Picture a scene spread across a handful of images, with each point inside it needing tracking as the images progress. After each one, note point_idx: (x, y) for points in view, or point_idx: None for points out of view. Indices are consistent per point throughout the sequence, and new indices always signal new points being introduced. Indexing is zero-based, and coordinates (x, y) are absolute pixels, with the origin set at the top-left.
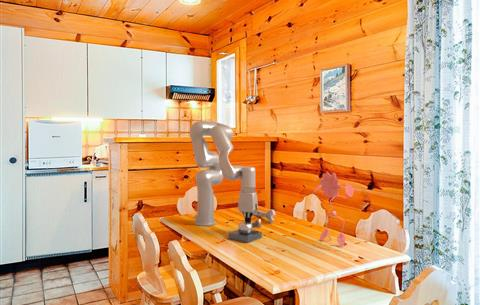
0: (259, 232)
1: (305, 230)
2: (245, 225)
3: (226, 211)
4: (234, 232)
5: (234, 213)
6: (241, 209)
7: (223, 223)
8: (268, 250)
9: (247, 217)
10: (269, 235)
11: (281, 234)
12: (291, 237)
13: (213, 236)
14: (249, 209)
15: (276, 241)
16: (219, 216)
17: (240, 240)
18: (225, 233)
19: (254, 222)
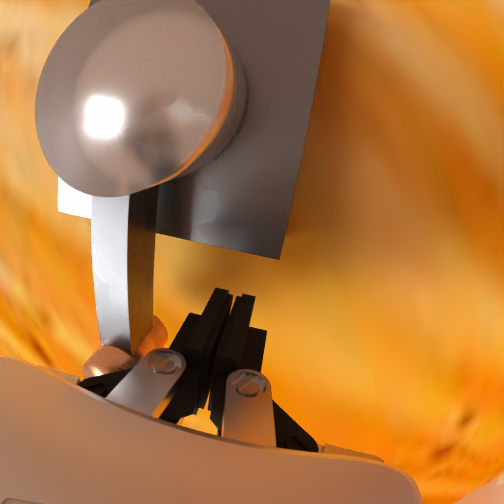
0: (61, 181)
1: None
2: (79, 19)
3: (459, 492)
4: (274, 26)
5: (431, 496)
6: (306, 488)
7: (484, 395)
8: (8, 23)
9: (196, 361)
10: (85, 282)
11: (59, 327)
12: (10, 290)
13: (466, 46)
14: (6, 414)
15: (10, 178)
16: (491, 452)
17: None
18: (435, 170)
19: (112, 306)
